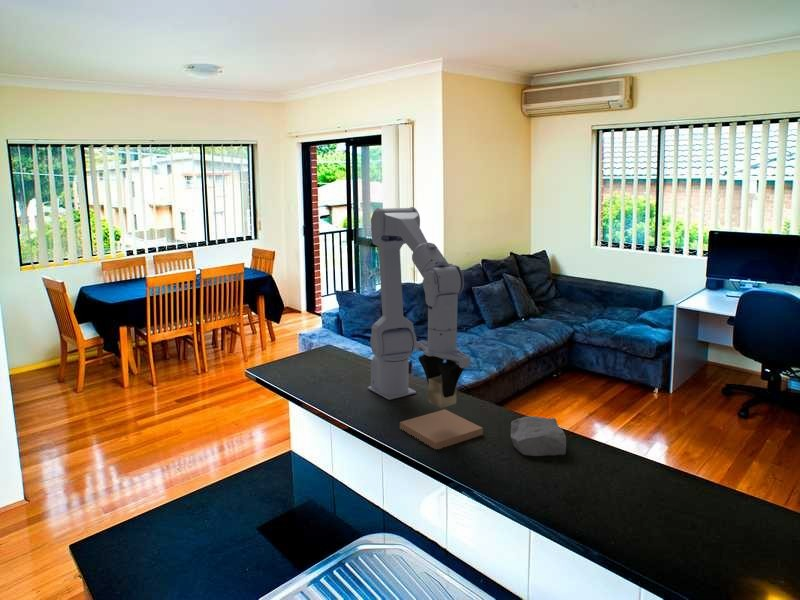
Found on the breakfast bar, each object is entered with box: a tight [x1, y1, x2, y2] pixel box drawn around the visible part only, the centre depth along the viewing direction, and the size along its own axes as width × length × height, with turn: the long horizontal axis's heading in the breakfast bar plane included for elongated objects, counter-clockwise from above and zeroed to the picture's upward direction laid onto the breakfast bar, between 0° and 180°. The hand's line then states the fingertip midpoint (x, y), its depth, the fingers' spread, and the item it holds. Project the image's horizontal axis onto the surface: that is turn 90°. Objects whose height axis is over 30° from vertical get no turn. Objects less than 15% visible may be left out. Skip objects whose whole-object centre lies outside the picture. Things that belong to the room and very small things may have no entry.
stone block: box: [510, 415, 567, 457], centre depth 118 cm, size 12×5×10 cm
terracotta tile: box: [399, 408, 484, 450], centre depth 123 cm, size 12×12×2 cm
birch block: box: [427, 376, 458, 409], centre depth 121 cm, size 4×4×5 cm
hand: (441, 392), depth 121 cm, fingers closed on birch block, 4 cm apart
